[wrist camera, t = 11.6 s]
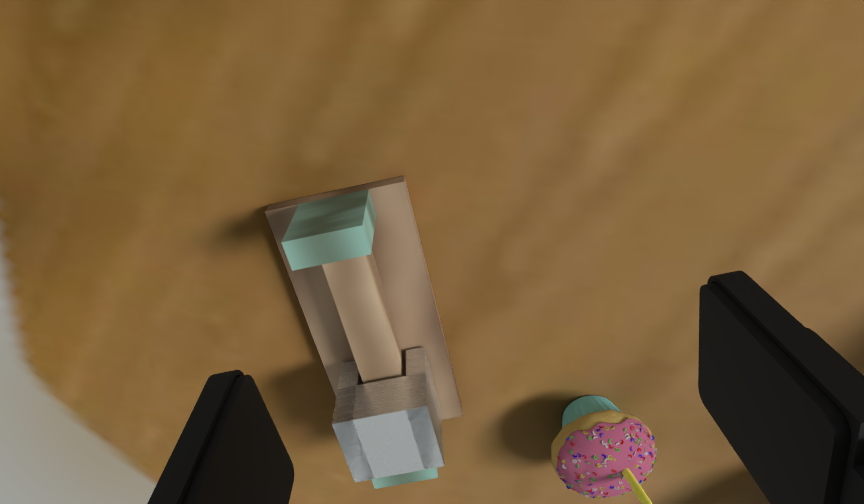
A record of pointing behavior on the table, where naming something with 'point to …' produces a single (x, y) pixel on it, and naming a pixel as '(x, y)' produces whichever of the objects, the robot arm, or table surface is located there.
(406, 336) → the rail bed
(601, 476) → the cupcake
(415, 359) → the grey sliding block
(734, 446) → the robot arm
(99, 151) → the table surface
